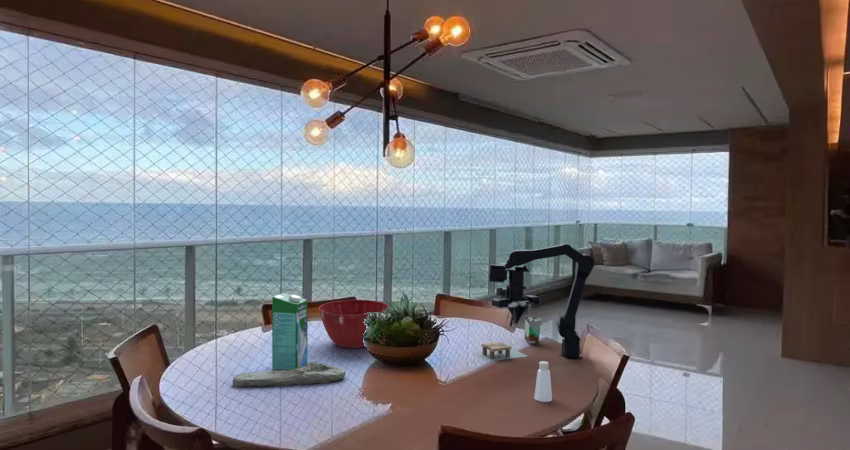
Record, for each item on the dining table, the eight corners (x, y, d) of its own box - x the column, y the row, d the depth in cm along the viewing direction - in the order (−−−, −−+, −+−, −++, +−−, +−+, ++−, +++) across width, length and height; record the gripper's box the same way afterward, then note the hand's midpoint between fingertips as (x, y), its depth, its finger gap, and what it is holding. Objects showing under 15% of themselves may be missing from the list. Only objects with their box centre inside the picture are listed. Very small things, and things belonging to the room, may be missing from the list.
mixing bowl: (384, 355, 201) (384, 314, 201) (309, 352, 203) (309, 312, 202) (393, 336, 229) (393, 300, 229) (327, 334, 231) (328, 299, 231)
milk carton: (296, 370, 182) (296, 297, 181) (272, 368, 183) (272, 296, 182) (307, 362, 190) (307, 293, 189) (284, 361, 192) (284, 292, 191)
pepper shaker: (539, 394, 162) (539, 358, 162) (555, 398, 159) (556, 361, 158) (530, 399, 158) (531, 362, 158) (547, 403, 155) (548, 366, 154)
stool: (511, 346, 199) (492, 349, 195) (511, 357, 199) (492, 359, 196) (499, 341, 206) (481, 343, 203) (499, 351, 206) (481, 354, 203)
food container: (544, 346, 216) (544, 321, 216) (529, 346, 217) (529, 321, 216) (538, 338, 229) (539, 315, 228) (524, 338, 229) (524, 315, 228)
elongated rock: (235, 384, 173) (231, 396, 163) (234, 368, 172) (229, 380, 162) (344, 372, 180) (346, 383, 170) (343, 356, 179) (346, 367, 170)
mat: (528, 357, 201) (528, 356, 201) (486, 362, 193) (486, 361, 193) (511, 349, 211) (511, 348, 211) (471, 354, 203) (471, 353, 203)
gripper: (524, 278, 215) (523, 317, 216) (484, 281, 207) (483, 321, 208) (541, 282, 205) (540, 323, 205) (500, 285, 197) (499, 327, 198)
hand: (515, 323), depth 204 cm, fingers closed
